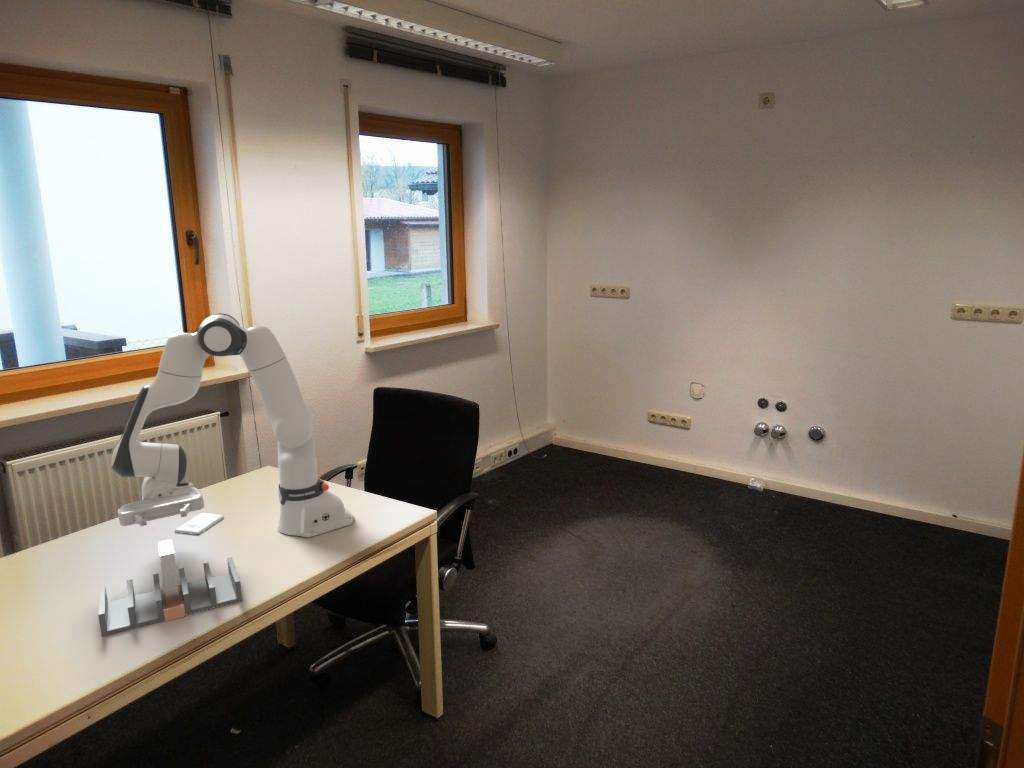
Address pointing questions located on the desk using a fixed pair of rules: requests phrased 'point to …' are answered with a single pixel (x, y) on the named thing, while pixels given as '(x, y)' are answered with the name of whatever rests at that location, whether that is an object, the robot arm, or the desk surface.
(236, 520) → the desk surface
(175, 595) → the panel
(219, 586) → the rack
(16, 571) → the desk surface
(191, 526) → the external hard drive
